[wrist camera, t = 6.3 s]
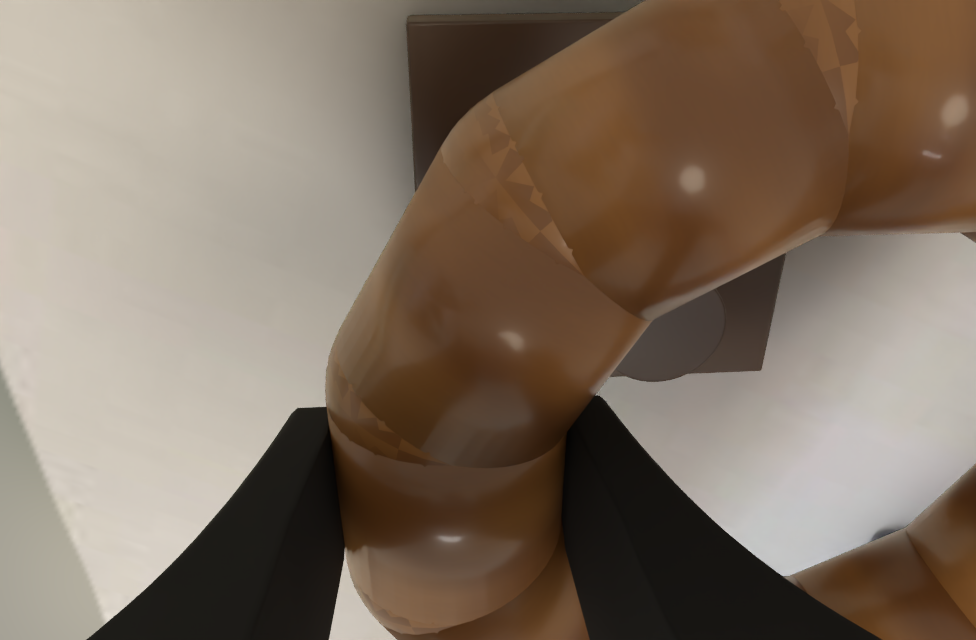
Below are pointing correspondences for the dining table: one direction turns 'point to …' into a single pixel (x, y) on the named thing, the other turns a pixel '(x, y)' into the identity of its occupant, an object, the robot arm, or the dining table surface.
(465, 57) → the stand
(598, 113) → the ring
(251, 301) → the dining table surface
